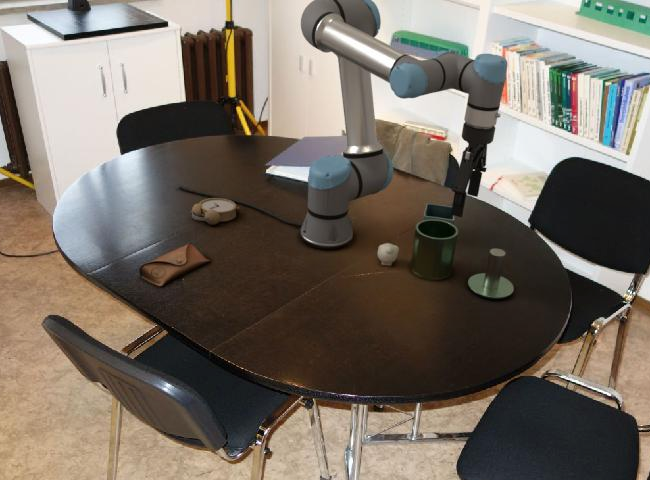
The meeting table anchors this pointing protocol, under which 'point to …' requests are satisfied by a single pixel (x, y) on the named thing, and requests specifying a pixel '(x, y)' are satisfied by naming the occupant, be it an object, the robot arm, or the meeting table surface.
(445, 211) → the flower pot
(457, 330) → the meeting table surface
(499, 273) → the bin lid
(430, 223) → the trash can
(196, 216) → the alarm clock
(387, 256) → the paper ball
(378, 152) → the robot arm
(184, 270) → the sunglasses case
